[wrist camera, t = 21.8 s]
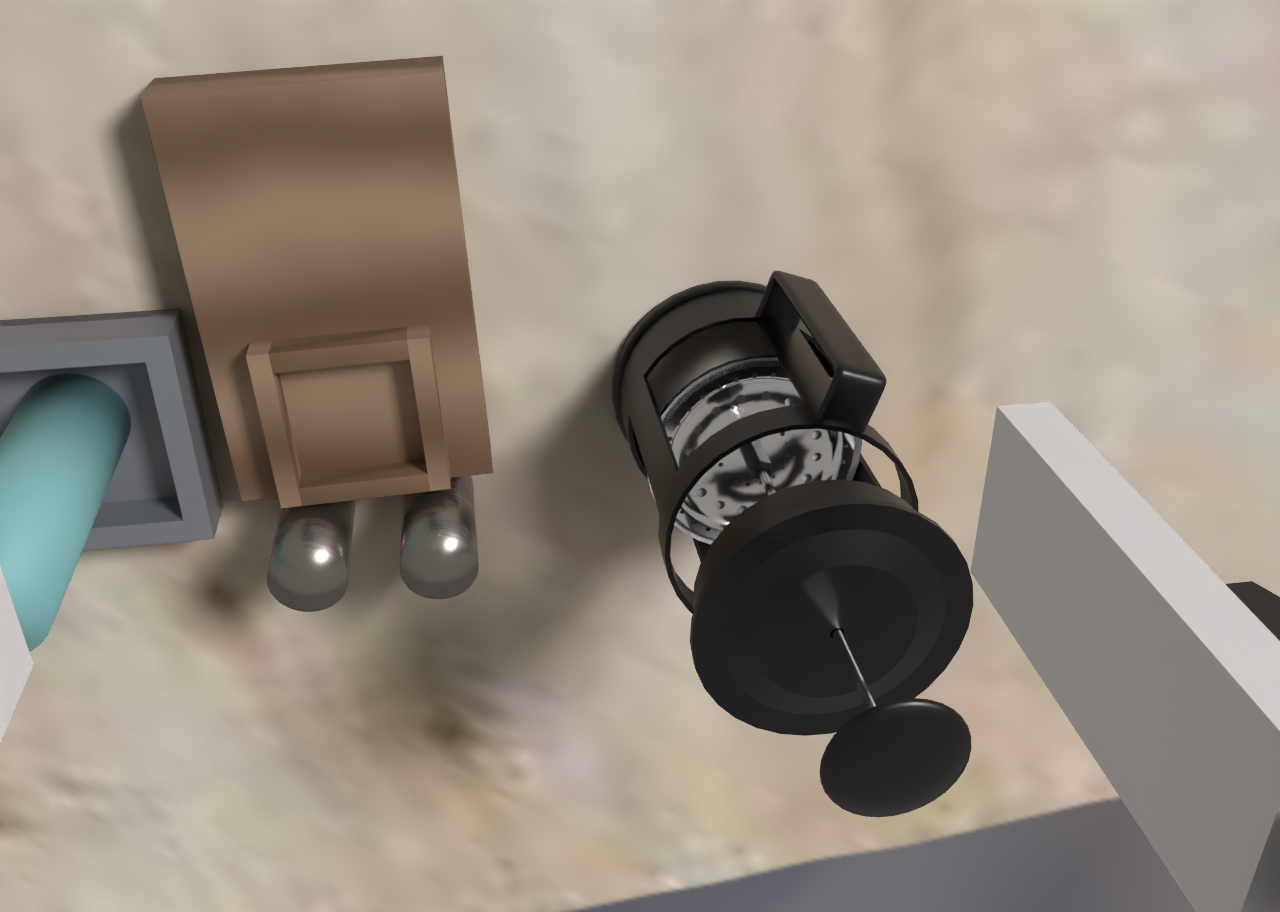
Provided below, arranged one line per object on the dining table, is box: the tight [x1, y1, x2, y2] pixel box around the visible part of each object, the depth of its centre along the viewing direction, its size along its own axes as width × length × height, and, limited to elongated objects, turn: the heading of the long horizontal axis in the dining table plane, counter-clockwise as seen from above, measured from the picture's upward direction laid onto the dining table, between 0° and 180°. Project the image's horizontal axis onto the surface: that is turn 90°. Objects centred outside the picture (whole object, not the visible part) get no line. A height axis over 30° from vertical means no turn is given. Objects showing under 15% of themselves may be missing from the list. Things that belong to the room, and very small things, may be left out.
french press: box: [612, 271, 973, 817], centre depth 42 cm, size 12×9×23 cm
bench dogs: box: [267, 476, 478, 612], centre depth 49 cm, size 3×8×6 cm, turn 90°
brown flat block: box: [140, 56, 493, 508], centre depth 45 cm, size 16×10×4 cm, turn 3°
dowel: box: [0, 373, 131, 652], centre depth 42 cm, size 4×4×12 cm
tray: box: [0, 309, 223, 551], centre depth 47 cm, size 9×9×2 cm
